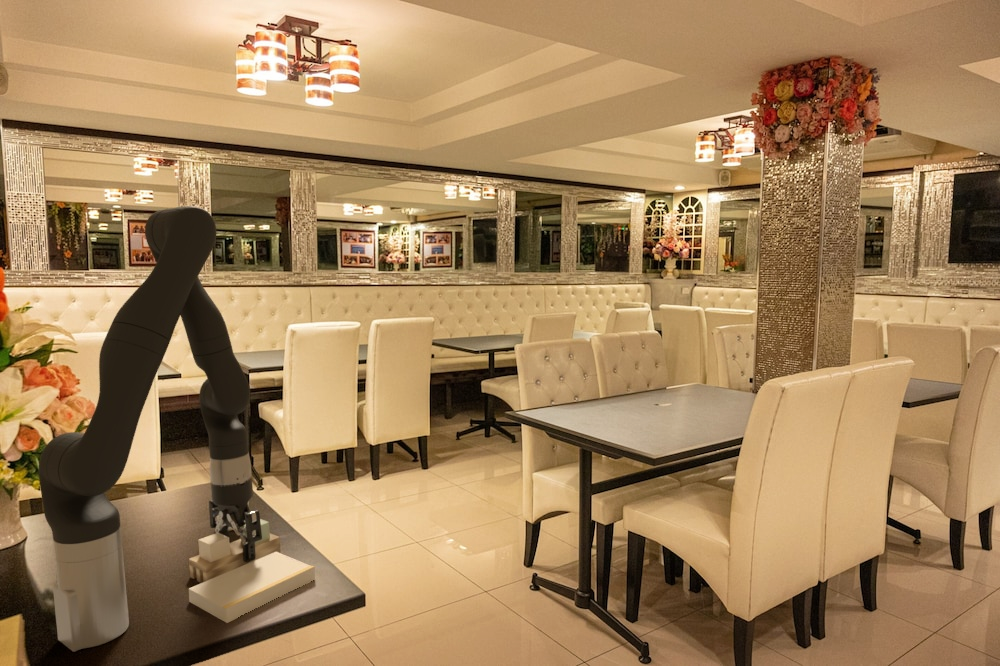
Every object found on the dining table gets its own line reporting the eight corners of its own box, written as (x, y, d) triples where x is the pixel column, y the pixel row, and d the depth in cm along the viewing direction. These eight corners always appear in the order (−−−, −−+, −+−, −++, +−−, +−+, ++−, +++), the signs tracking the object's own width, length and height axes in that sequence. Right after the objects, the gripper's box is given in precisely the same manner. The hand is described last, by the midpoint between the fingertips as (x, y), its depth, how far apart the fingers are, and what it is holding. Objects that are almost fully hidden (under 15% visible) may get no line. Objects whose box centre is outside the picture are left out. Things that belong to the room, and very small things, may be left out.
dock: (227, 623, 110) (226, 608, 110) (189, 601, 117) (188, 588, 117) (315, 579, 124) (314, 566, 124) (276, 563, 131) (276, 551, 131)
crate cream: (210, 562, 124) (209, 544, 124) (199, 557, 127) (198, 539, 126) (230, 554, 127) (229, 537, 127) (218, 549, 130) (217, 532, 129)
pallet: (207, 587, 123) (205, 566, 122) (190, 578, 126) (188, 558, 126) (280, 555, 136) (279, 537, 135) (263, 548, 139) (262, 530, 139)
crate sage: (252, 545, 131) (251, 528, 131) (241, 540, 134) (240, 524, 133) (269, 538, 135) (269, 522, 134) (258, 534, 137) (257, 517, 136)
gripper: (193, 475, 130) (200, 553, 132) (234, 489, 122) (240, 572, 124) (228, 465, 136) (234, 539, 138) (269, 477, 128) (275, 557, 130)
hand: (237, 555), depth 131 cm, fingers open, 8 cm apart
